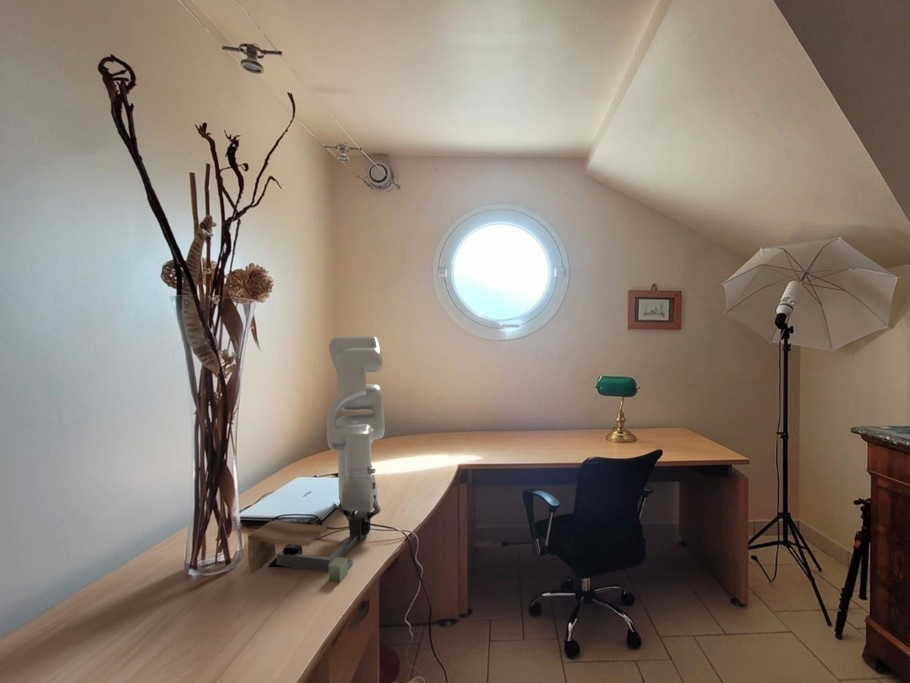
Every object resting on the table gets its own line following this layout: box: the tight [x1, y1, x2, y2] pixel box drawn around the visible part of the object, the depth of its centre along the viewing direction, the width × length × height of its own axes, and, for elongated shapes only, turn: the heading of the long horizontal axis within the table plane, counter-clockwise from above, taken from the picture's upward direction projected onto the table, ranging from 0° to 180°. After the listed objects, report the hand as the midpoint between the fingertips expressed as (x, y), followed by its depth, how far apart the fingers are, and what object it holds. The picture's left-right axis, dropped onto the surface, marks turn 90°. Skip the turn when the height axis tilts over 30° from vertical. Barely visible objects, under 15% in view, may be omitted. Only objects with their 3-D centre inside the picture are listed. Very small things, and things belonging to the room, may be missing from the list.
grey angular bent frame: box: [276, 511, 371, 573], centre depth 120 cm, size 23×16×6 cm
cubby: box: [247, 520, 328, 574], centre depth 110 cm, size 9×17×10 cm, turn 77°
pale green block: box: [328, 557, 354, 584], centre depth 107 cm, size 8×3×4 cm, turn 167°
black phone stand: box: [266, 544, 318, 569], centre depth 113 cm, size 12×7×5 cm, turn 87°
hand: (359, 532), depth 127 cm, fingers closed on grey angular bent frame, 3 cm apart
